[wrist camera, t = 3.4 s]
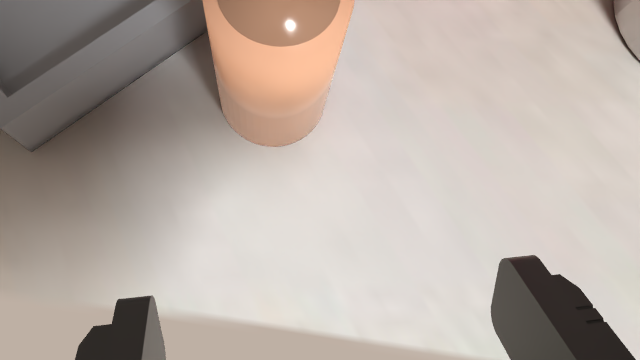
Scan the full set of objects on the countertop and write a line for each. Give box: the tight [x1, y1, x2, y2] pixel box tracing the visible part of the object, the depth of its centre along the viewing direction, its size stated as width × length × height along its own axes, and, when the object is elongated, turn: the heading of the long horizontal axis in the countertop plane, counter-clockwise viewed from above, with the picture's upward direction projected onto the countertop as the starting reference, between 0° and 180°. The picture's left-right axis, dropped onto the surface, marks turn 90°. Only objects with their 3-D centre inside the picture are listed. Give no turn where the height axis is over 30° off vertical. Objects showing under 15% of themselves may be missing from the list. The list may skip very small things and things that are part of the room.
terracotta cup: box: [202, 0, 354, 147], centre depth 25 cm, size 5×5×10 cm
